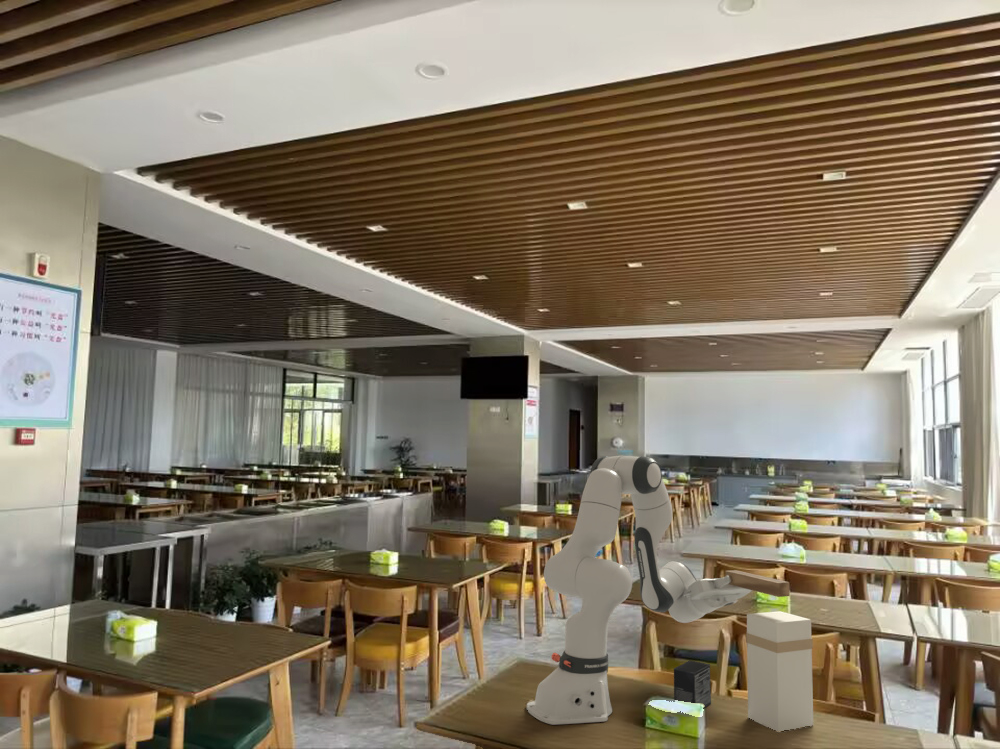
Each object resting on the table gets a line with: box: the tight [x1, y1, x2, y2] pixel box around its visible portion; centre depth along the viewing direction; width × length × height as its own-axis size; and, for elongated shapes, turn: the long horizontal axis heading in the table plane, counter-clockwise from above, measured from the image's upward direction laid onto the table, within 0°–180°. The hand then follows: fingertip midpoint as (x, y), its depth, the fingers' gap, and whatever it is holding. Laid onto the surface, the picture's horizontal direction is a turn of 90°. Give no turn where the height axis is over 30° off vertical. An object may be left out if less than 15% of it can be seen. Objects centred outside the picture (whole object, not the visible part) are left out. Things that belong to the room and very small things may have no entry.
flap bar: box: [724, 569, 791, 598], centre depth 186 cm, size 4×19×4 cm, turn 25°
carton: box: [745, 610, 814, 733], centre depth 177 cm, size 12×10×26 cm
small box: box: [673, 660, 712, 708], centre depth 186 cm, size 11×6×10 cm, turn 141°
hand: (737, 577), depth 192 cm, fingers closed on flap bar, 4 cm apart
